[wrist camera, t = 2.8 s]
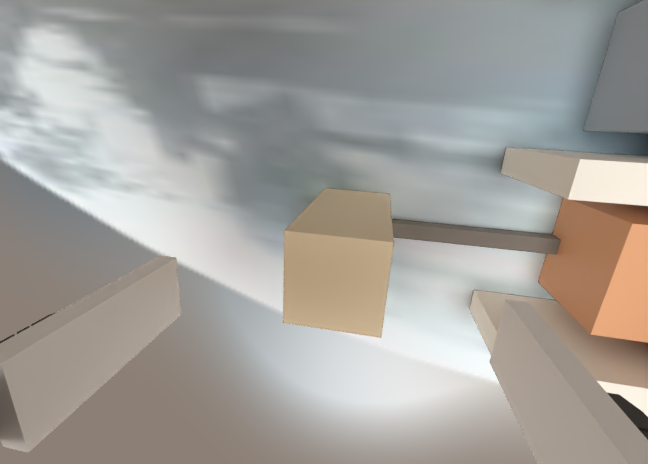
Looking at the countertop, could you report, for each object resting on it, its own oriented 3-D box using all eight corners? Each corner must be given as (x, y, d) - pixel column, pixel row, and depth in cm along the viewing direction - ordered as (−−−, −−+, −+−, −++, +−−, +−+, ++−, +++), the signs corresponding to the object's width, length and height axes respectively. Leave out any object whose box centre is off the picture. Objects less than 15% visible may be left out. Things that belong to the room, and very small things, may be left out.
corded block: (325, 177, 23) (284, 213, 13) (672, 205, 19) (942, 279, 10) (321, 256, 24) (282, 336, 15) (636, 293, 21) (834, 424, 12)
